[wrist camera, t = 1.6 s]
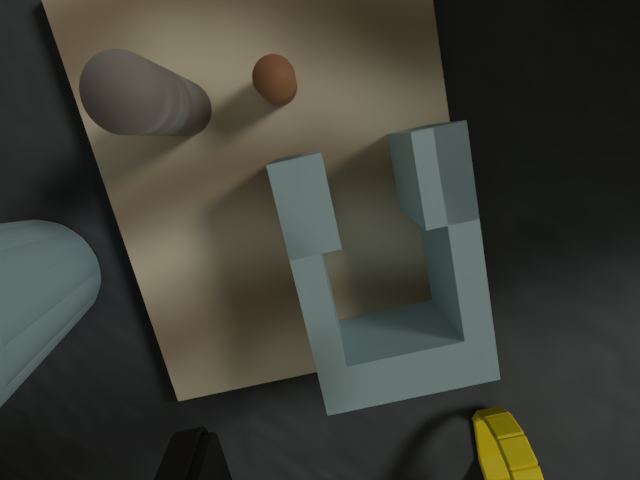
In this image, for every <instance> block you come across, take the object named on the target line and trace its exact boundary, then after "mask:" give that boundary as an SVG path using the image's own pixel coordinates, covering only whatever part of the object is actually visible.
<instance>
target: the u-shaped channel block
mask: <svg viewBox="0 0 640 480" xmlns="http://www.w3.org/2000/svg"><path fill="white" fill-rule="evenodd" d="M387 138H388V143H389V149H390V155H391V160H392V166H393V172H394V178H395V183H396V189H397V195H398V200H399V206H400V211H401V212H403V213H404V214H405V215H407V216H408V217H409V218H411V219H412V220H413V221H414V222H416V223H417V224H418V225H420V229H421V235H422V241H423V247H424V253H425V259H426V266H427V272H428V278H429V284H430V290H431V296H432V300H428V301H423V302H419V303H414V304H409V305H405V306H400V307H396V308H391V309H386V310H382V311H377V312H372V313H368V314H363V315H358V316H354V317H349V318H344V319H340V320H338V316H337V311H336V307H335V302H334V298H333V294H332V289H331V285H330V280H329V276H328V271H327V267H326V262H325V258H324V254H323V253H327V252H331V251H336V250H340V249H342V247H341V243H340V238H339V233H338V228H337V224H336V219H335V214H334V210H333V205H332V200H331V196H330V191H329V186H328V182H327V177H326V172H325V168H324V163H323V158H322V154H321V152H320V151H319V150H314V151H309V152H305V153H300V154H296V155H292V156H287V157H283V158H278V159H275V160H273V161H272V162H270V163H268V164H267V165H266V167H267V171H268V175H269V179H270V183H271V187H272V191H273V196H274V200H275V204H276V208H277V212H278V216H279V220H280V224H281V228H282V232H283V236H284V240H285V244H286V248H287V252H288V257H289V261H290V265H291V269H292V273H293V277H294V281H295V285H296V289H297V293H298V297H299V301H300V305H301V309H302V313H303V317H304V322H305V326H306V330H307V334H308V338H309V342H310V346H311V350H312V354H313V358H314V362H315V366H316V370H317V374H318V378H319V383H320V387H321V391H322V395H323V399H324V403H325V407H326V411H327V415H333V414H338V413H343V412H347V411H352V410H357V409H362V408H366V407H371V406H376V405H381V404H385V403H390V402H395V401H400V400H404V399H409V398H414V397H419V396H423V395H428V394H433V393H438V392H443V391H447V390H452V389H457V388H462V387H466V386H471V385H476V384H481V383H485V382H490V381H495V380H500V373H499V365H498V357H497V350H496V342H495V334H494V326H493V319H492V311H491V303H490V296H489V288H488V280H487V273H486V265H485V257H484V250H483V242H482V234H481V226H480V219H479V211H478V203H477V196H476V188H475V180H474V173H473V165H472V157H471V150H470V142H469V134H468V126H467V120H463V121H455V122H446V123H438V124H430V125H425V126H421V127H416V128H412V129H407V130H403V131H398V132H394V133H390V134H387Z"/></svg>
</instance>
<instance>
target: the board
mask: <svg viewBox="0 0 640 480" xmlns="http://www.w3.org/2000/svg"><path fill="white" fill-rule="evenodd" d="M42 3H43V6H44V9H45V12H46V15H47V18H48V21H49V24H50V26H51V29H52V32H53V35H54V38H55V41H56V44H57V47H58V50H59V53H60V56H61V59H62V62H63V65H64V68H65V71H66V73H67V76H68V79H69V82H70V85H71V88H72V91H73V94H74V97H75V100H76V103H77V106H78V109H79V112H80V115H81V118H82V120H83V123H84V126H85V129H86V132H87V135H88V138H89V141H90V144H91V147H92V150H93V153H94V156H95V159H96V162H97V164H98V167H99V170H100V173H101V176H102V179H103V182H104V185H105V188H106V191H107V194H108V197H109V200H110V203H111V206H112V209H113V211H114V214H115V217H116V220H117V223H118V226H119V229H120V232H121V235H122V238H123V241H124V244H125V247H126V250H127V253H128V256H129V258H130V261H131V264H132V267H133V270H134V273H135V276H136V279H137V282H138V285H139V288H140V291H141V294H142V297H143V300H144V302H145V305H146V308H147V311H148V314H149V317H150V320H151V323H152V326H153V329H154V332H155V335H156V338H157V341H158V344H159V347H160V349H161V352H162V355H163V358H164V361H165V364H166V367H167V370H168V373H169V376H170V379H171V382H172V385H173V388H174V391H175V394H176V396H177V399H178V401H183V400H187V399H192V398H197V397H202V396H206V395H211V394H216V393H220V392H225V391H230V390H234V389H239V388H244V387H249V386H253V385H258V384H263V383H267V382H272V381H277V380H281V379H286V378H291V377H296V376H300V375H305V374H310V373H314V372H317V370H316V366H315V362H314V358H313V354H312V350H311V346H310V342H309V338H308V334H307V330H306V326H305V322H304V317H303V313H302V309H301V305H300V301H299V297H298V293H297V289H296V285H295V281H294V277H293V273H292V269H291V265H290V261H289V257H288V252H287V248H286V244H285V240H284V236H283V232H282V228H281V224H280V220H279V216H278V212H277V208H276V204H275V200H274V196H273V191H272V187H271V183H270V179H269V175H268V171H267V167H266V165H267V164H268V163H270V162H272V161H273V160H275V159H278V158H283V157H287V156H292V155H296V154H300V153H305V152H309V151H314V150H319V151H320V152H321V154H322V158H323V163H324V168H325V172H326V177H327V182H328V186H329V191H330V196H331V200H332V205H333V210H334V214H335V219H336V224H337V228H338V233H339V238H340V243H341V247H342V249H340V250H336V251H331V252H327V253H323V254H324V258H325V262H326V267H327V271H328V276H329V280H330V285H331V289H332V294H333V298H334V302H335V307H336V311H337V316H338V320H340V319H344V318H349V317H354V316H358V315H363V314H368V313H372V312H377V311H382V310H386V309H391V308H396V307H400V306H405V305H409V304H414V303H419V302H423V301H428V300H432V296H431V290H430V284H429V278H428V272H427V266H426V259H425V253H424V247H423V241H422V235H421V229H420V225H418V224H417V223H416V222H414V221H413V220H412V219H411V218H409V217H408V216H407V215H405V214H404V213H403V212H401V211H400V206H399V200H398V195H397V189H396V183H395V178H394V172H393V166H392V160H391V155H390V149H389V143H388V138H387V134H390V133H394V132H398V131H403V130H407V129H412V128H416V127H421V126H425V125H430V124H438V123H446V122H450V119H449V112H448V105H447V97H446V90H445V83H444V76H443V69H442V62H441V54H440V47H439V40H438V33H437V26H436V18H435V11H434V4H433V0H42Z"/></svg>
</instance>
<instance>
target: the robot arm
mask: <svg viewBox="0 0 640 480" xmlns="http://www.w3.org/2000/svg"><path fill="white" fill-rule="evenodd" d="M154 480H232V478H231V475H230V472H229V469H228V466H227V463H226V460H225V457H224V454H223V451H222V448H221V445H220V442H219V439H218V436H217V434H216V433H215V432H211V433H208V431H207V429H206V428H205V427H203V426H202V427H198V428H193V429H189V430H184V431H180V432H176V433H174V434H173V436H172V438H171V440H170V443H169V445H168V447H167V450H166V452H165V455H164V457H163V459H162V462H161V464H160V466H159V469H158V471H157V474H156V476H155V478H154Z"/></svg>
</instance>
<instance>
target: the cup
mask: <svg viewBox="0 0 640 480" xmlns="http://www.w3.org/2000/svg"><path fill="white" fill-rule="evenodd" d="M100 285H101V273H100V267H99V263H98V260H97V257H96V255H95V254H94V252H93V251H92V249H91V248H90V246H89V245H88V244H87V242H86V241H85V240H84V239H83V238H82V237H81V236H80V235H78V234H77V233H75V232H74V231H72V230H71V229H69V228H67V227H66V226H64V225H61V224H59V223H55V222H49V221H44V220H27V221H17V222H10V223H2V224H0V407H1V406H2V405H3V404H4V403H5V402H6V401H7V400H8V398H9V397H10V396H11V395H12V394H13V393H14V392H15V391H16V390H17V388H18V387H19V386H20V385H21V384H22V383H23V382H24V381H25V380H26V379H27V377H28V376H29V375H30V374H31V373H32V372H33V371H34V370H35V369H36V367H37V366H38V365H39V364H40V363H41V362H42V361H43V360H44V359H45V357H46V356H47V355H48V354H49V353H50V352H51V351H52V350H53V349H54V348H55V346H56V345H57V344H58V343H59V342H60V341H61V340H62V339H63V338H64V336H65V335H66V334H67V333H68V332H69V331H70V330H71V329H72V328H73V326H74V325H75V324H76V323H77V322H78V321H79V320H80V319H81V318H82V316H83V315H84V314H85V313H86V312H87V311H88V310H89V308H90V307H91V306H92V305H93V304H94V302H95V300H96V298H97V295H98V292H99V289H100Z"/></svg>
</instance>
